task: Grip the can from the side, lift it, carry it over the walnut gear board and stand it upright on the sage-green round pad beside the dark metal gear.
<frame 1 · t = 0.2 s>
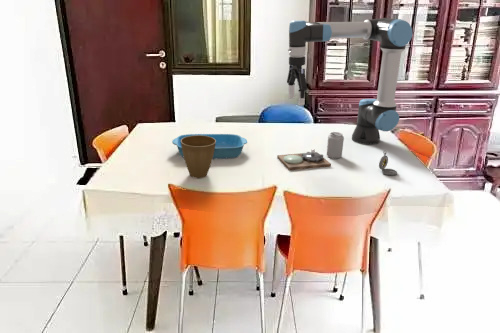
hand: (296, 101, 206), 27 cm above the table, tool pointing down, fingers open, 13 cm apart
pocket watch: (387, 172, 198), on the table
output pad: (292, 163, 206), resting on gear board
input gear: (312, 161, 208), resting on gear board
plant pot: (199, 175, 190), on the table
casserole dish: (210, 153, 216), on the table
can: (333, 157, 215), on the table
gear board: (303, 162, 207), on the table
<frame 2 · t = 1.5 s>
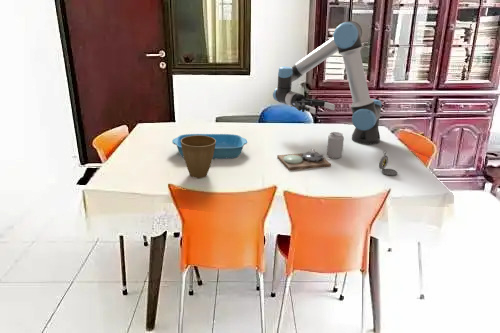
hand: (324, 109, 214), 22 cm above the table, tool horizontal, fingers open, 13 cm apart
nothing on the table moved.
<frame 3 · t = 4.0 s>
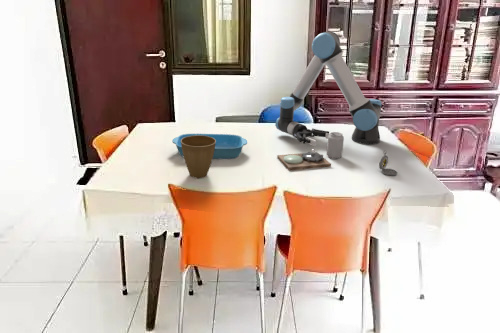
hand: (325, 141, 217), 6 cm above the table, tool horizontal, fingers open, 13 cm apart
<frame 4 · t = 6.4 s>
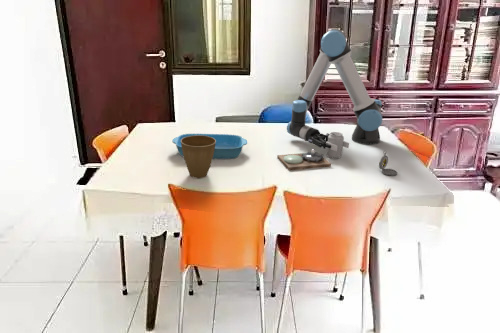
hand: (342, 147, 209), 7 cm above the table, tool horizontal, fingers closed on can, 7 cm apart
can: (333, 156, 215), on the table, touching gripper
everything else where it was.
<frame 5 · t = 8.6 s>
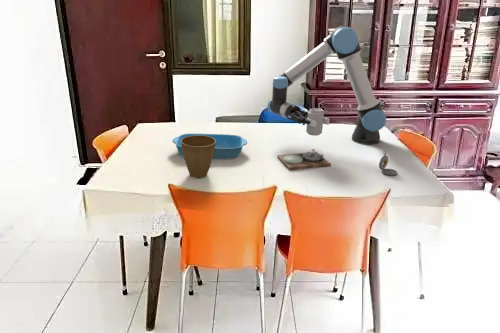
hand: (322, 123, 201), 19 cm above the table, tool horizontal, fingers closed on can, 7 cm apart
can: (313, 134, 208), point 12 cm above the table, touching gripper
everything else where it was.
when the fingers open (10 cm above the table, at t = 11.2 s): can drops 1 cm, resting on output pad.
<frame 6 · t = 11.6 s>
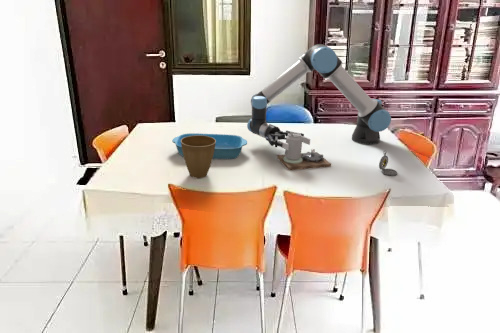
hand: (299, 144, 199), 10 cm above the table, tool horizontal, fingers open, 13 cm apart
can: (292, 158, 205), point 2 cm above the table, touching output pad
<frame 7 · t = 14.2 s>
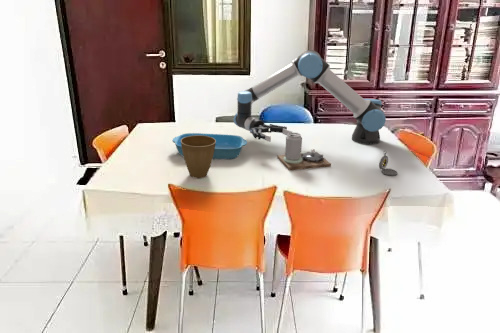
hand: (281, 136, 209), 11 cm above the table, tool horizontal, fingers open, 13 cm apart
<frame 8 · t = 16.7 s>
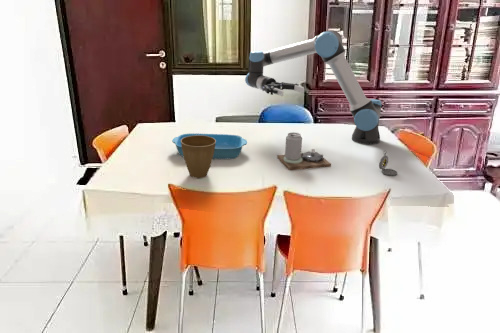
hand: (293, 91, 212), 30 cm above the table, tool horizontal, fingers open, 13 cm apart
nothing on the table moved.
at the end: can 0.1 cm off-centre on the output pad, point 2.3 cm above the output pad's base; can tilted 0°; the gripper is holding nothing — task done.
